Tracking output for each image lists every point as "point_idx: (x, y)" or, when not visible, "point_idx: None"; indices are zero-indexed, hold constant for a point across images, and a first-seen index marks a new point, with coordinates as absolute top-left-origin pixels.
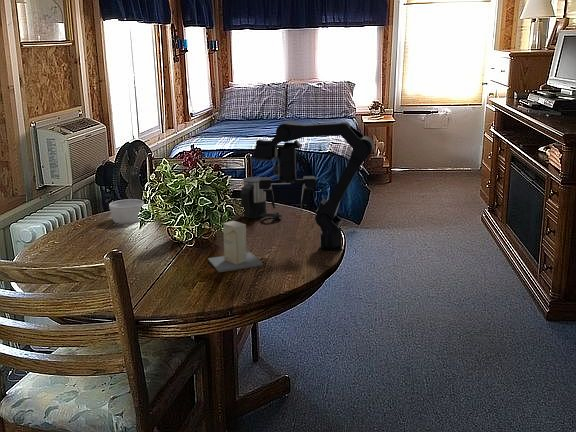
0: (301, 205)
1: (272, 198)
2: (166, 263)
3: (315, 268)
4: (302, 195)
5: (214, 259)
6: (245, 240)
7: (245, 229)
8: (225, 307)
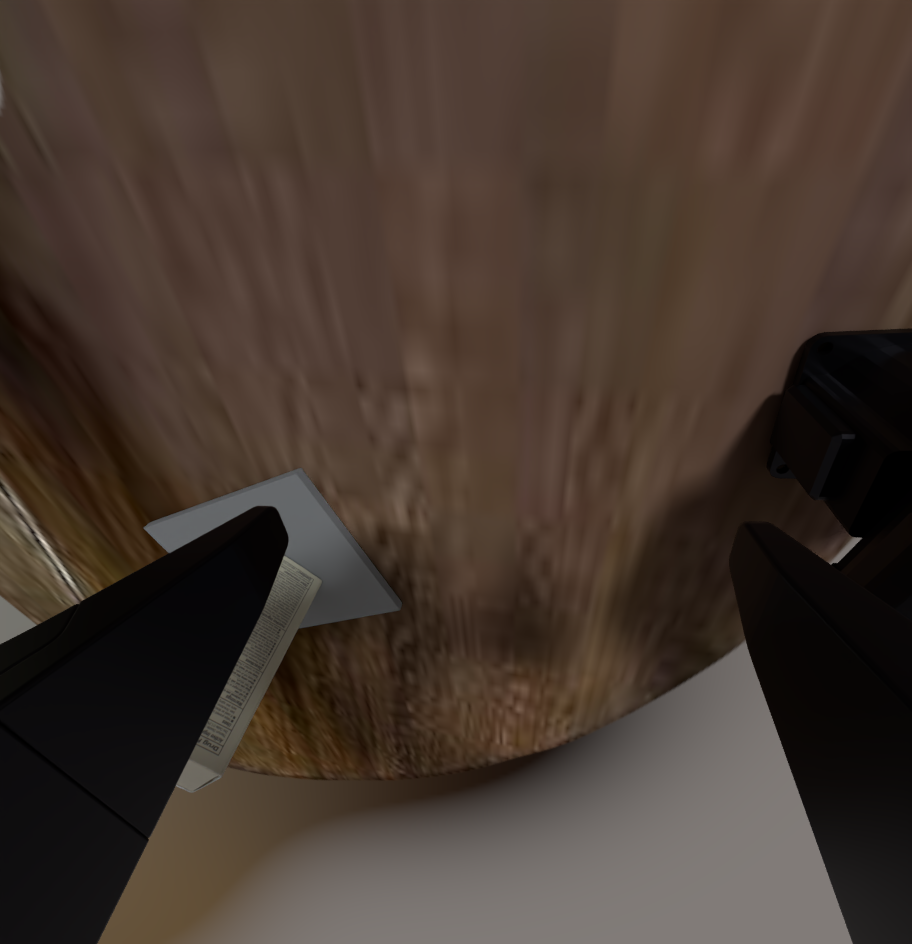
0: (740, 610)
1: (180, 748)
2: (21, 531)
3: (638, 660)
4: (867, 885)
5: (177, 542)
6: (271, 678)
7: (237, 743)
8: (363, 776)
